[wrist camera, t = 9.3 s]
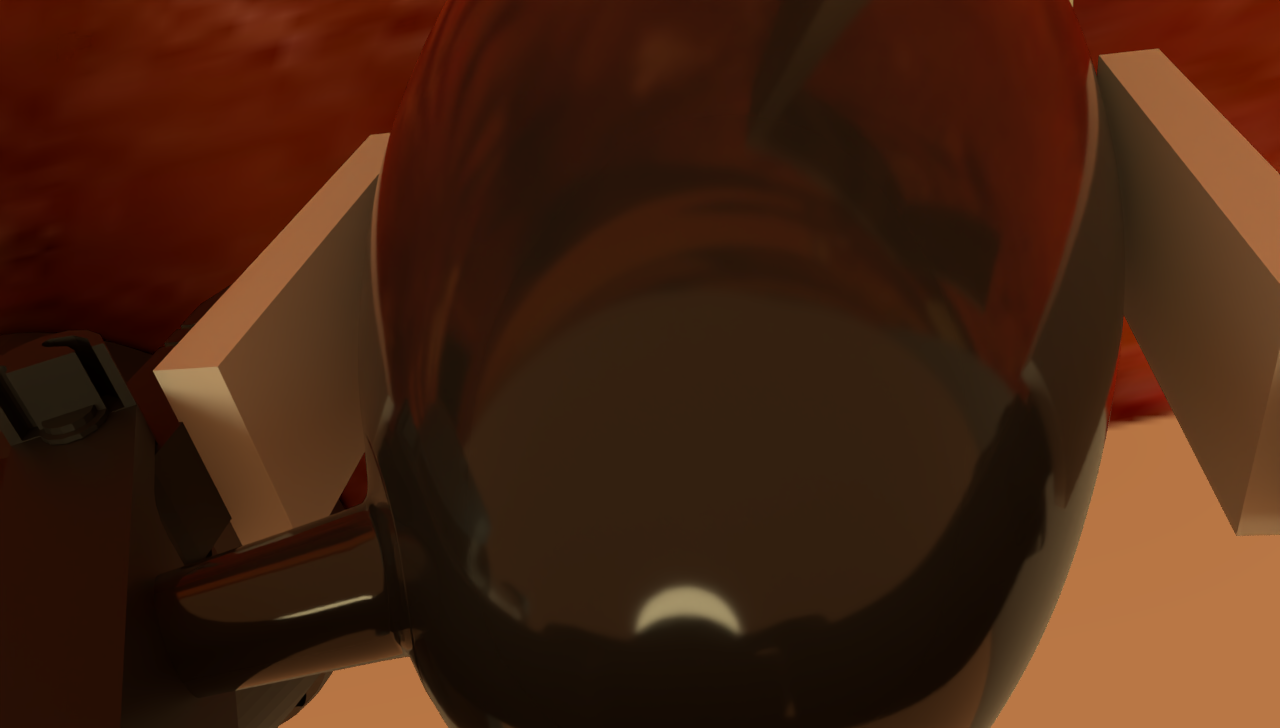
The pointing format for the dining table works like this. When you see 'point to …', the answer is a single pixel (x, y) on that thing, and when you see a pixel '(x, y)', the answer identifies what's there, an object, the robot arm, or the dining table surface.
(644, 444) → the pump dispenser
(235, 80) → the dining table surface
